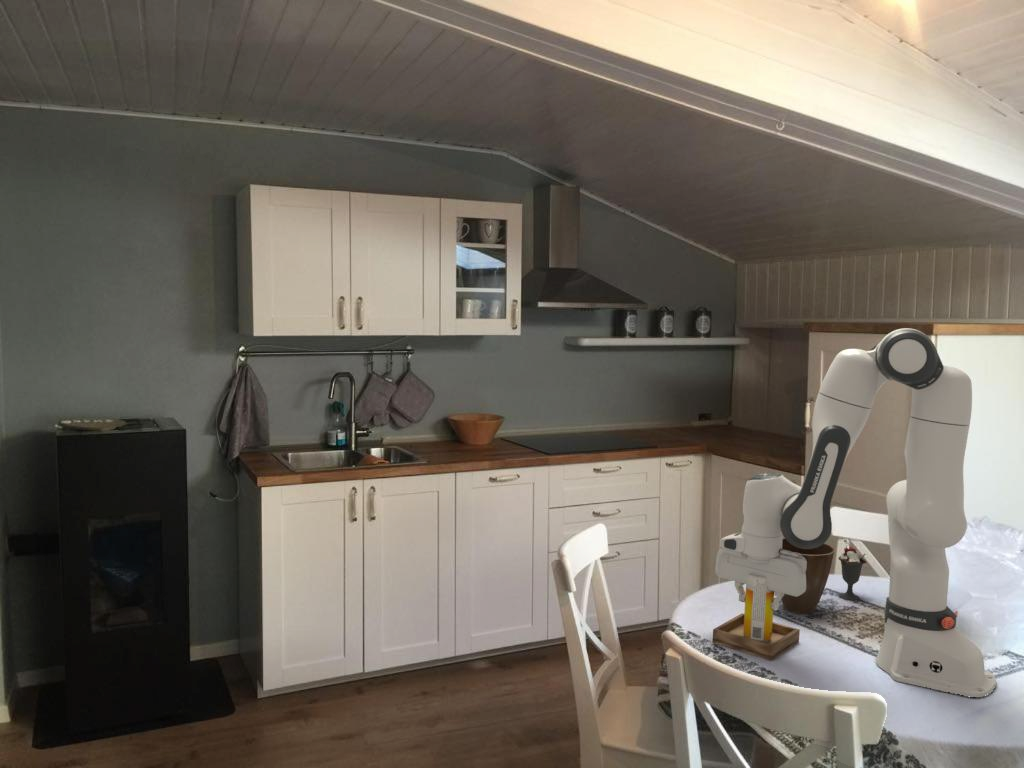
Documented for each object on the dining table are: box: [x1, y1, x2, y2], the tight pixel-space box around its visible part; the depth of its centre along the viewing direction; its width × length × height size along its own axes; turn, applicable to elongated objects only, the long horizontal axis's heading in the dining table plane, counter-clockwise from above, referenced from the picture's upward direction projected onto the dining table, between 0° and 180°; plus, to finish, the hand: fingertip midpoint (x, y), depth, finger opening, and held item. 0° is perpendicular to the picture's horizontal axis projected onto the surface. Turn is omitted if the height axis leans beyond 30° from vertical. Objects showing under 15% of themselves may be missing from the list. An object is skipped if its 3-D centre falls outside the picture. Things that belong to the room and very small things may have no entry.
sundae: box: [837, 539, 867, 601], centre depth 225 cm, size 7×7×15 cm
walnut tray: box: [712, 613, 801, 662], centre depth 193 cm, size 14×14×3 cm
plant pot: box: [780, 538, 835, 615], centre depth 215 cm, size 15×15×16 cm
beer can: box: [743, 573, 775, 643], centre depth 192 cm, size 6×6×15 cm
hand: (758, 605), depth 193 cm, fingers open, 6 cm apart
